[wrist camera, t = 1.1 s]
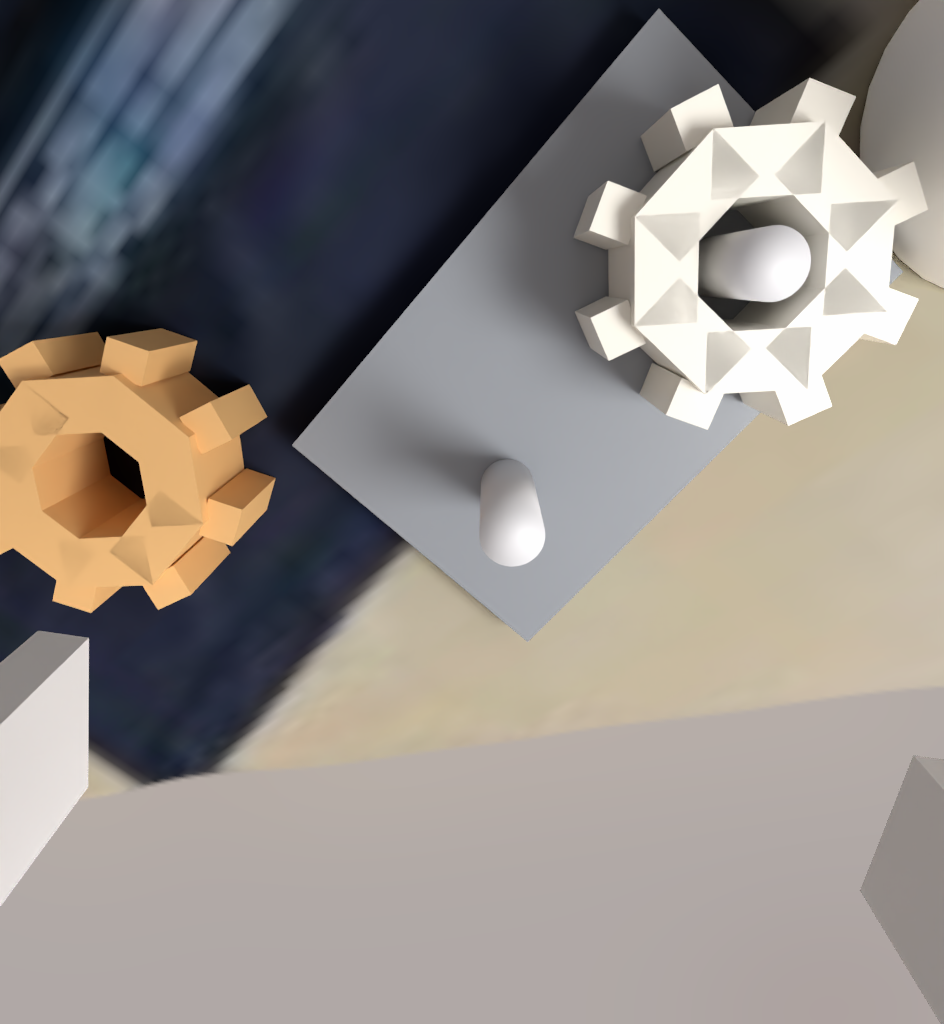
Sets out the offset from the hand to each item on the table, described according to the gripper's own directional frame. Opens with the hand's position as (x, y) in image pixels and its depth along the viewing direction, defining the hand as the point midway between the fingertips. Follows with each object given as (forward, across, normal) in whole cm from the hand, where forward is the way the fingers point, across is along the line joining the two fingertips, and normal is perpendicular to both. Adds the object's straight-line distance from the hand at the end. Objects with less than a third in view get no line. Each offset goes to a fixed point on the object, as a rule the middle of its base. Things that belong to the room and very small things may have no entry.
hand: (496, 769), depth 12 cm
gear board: (+19, +3, +5) cm, 20 cm away
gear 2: (+18, +7, +9) cm, 21 cm away
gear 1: (+19, -13, -2) cm, 23 cm away
